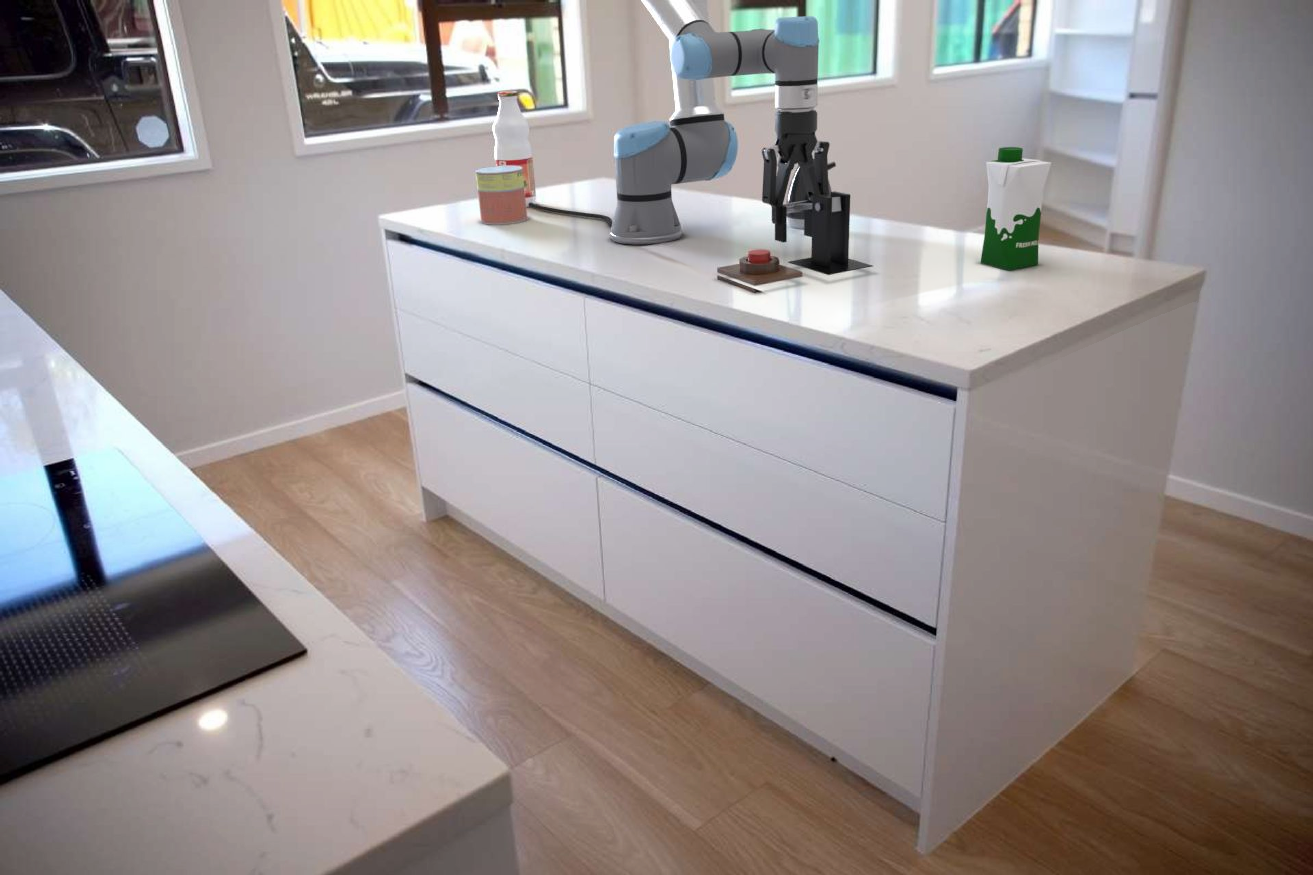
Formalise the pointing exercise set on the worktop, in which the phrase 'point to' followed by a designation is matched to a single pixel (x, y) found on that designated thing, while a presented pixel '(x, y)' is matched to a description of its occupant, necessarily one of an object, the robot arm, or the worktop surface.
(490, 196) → the canned food
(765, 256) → the button
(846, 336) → the worktop surface
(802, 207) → the tap lever
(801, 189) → the pump dispenser
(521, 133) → the fruit juice
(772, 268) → the button box
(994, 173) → the milk carton
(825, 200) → the black lever stand
